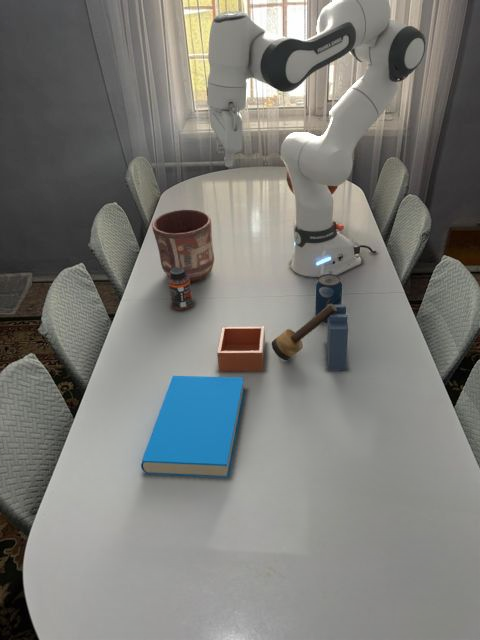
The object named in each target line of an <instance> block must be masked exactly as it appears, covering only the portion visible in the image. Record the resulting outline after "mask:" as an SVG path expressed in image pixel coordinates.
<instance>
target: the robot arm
mask: <svg viewBox="0 0 480 640" xmlns="http://www.w3.org/2000/svg"><path fill="white" fill-rule="evenodd" d="M391 13H392V12H391V5H390V1H389V0H333V1H331V2H329V3H328V4H327V5H325V6H324V7H323V8H322V9H321V11H320V13H319V16H318V19H317V25H316V32H317V34H315V35H313V36H312V37H309V38H307V39H305V40H301V39H297V38H293V37H287V36H283V35H279V34H277V33H276V34H275V33H273V32H270V31H267V30H266V29H264V28H262V27H261V26H259V25H258V24H257V23H255V22H254V21H253V20H252V19H251V18H250V17H249V15H248V14H247V13H246V12H243V11H238V10H234V11H230V10H228V11H223V12H220V13H218V14H217V15H215V16H214V17H213V19H212V21H211V25H210V30H209V38H208V52H207V53H208V55H207V56H208V57H207V59H208V64H209V74H208V78H207V87H206V97H207V101H206V103H207V105H208V109H209V110H208V111H209V123H210V127H211V129H212V131H213V132H214V134H215V142H216V152H217V154H219V155H220V154H222V155H224V154H225V155H224V158H223V159H224V160H223V165H224V166H225V167H226V168H232V167H233V166H234V158H235V156H236V153H241V152H242V149H243V137H244V136H243V135H244V134H243V132H244V131H243V128H244V125H243V117H242V115H241V110H244V109H246V107H247V99H248V97H247V96H248V82H249V79H251V78H252V79H255V80H257V81H259V82H262V83H264V84H266V85H268V86H270V87H271V88H274V89H275V90H277V91H279V92H282V93H289V92H292V91H294V90H295V89H297V88H298V87H300V85H302V84H303V83H304V82H305V81H306V80H307V79H308V78H309V77H310V76H311V75H313V74H314V73H315V72H316V71H319V70H321V69H322V68H324V67H326V66H328V65H330V64H332V63H333V62H335V61H337V60H339V59H341V58H342V57H344V56H346V55H348V53H349V54H350V55H351V56H352V58H354V59H355V60H356V61H358V62H360V63H363V64H365V65H366V69H365V71H364V73H363V75H362V76H361V77H360V78H359V79H358V80H357V81H355V83H354V84H353V85H352V86H351V87H350V88H349V89H348V90H347V91H346V92H345V93H344V95H343V96H342V97H341V98H340V99H339V100H338V101H337V103H336V104H335V105H334V106H333V107H332V108H331V109H330V110H329V114H328V123H329V124H328V127H327V129H326V131H325V132H324V133H323V134H322V135H321V136H318V135H315V134H312V133H309V132H305V131H304V132H302V131H300V132H292V133H290V134H288V135H287V136H286V137H285V138H284V140H283V141H282V143H281V147H280V158H281V160H282V162H283V163H284V165H285V167H286V169H287V170H288V172H289V176H290V180H291V183H292V187H293V191H294V194H293V197H294V203H295V204H294V207H295V223H294V229H293V231H294V232H293V233H294V234H293V235H294V236H293V238H294V243H293V246H294V250H293V255H292V260H291V263H290V268H291V270H292V271H293V272H294V273H296V274H298V275H301V276H304V277H309V278H310V277H312V278H314V277H315V278H319V277H320V276H322V275H324V274H334V275H337V276H339V275H340V274H342V273H345V272H347V271H349V270H351V269H353V268H355V267H357V266H359V265H361V264H362V258H361V256H360V254H361V248H364V249H368V251H370V253H372V254H376V253H377V250H373V249H372V247H370V246H369V245H363V244H359V243H358V242H357V241H356V240H355V239H354V238H352V239H348V237H346V236H344V235H343V234H341V233H340V232H343V231H344V229H345V226H344V225H343V224H341V223H340V222H338V223H337V221H335V220H334V197H333V194H331V192H330V191H329V189H328V186H338V187H339V186H341V185H343V184H344V183H345V182H346V181H347V180H348V179H349V177H350V176H351V173H352V171H353V166H354V161H353V154H354V151H355V148H356V146H357V145H358V143H359V141H360V140H361V139H362V137H363V136H364V135H365V134H366V132H367V131H368V130H369V129H370V128H371V127H372V126H373V125H374V124H375V123H376V122H377V120H378V119H379V118H380V117H381V116H382V114H383V113H384V111H386V109H387V108H388V106H389V105H390V103H391V101H392V100H393V98H394V97H395V95H396V94H397V91H398V88H399V85H398V83H399V82H402V81H404V80H405V79H406V78H408V77H409V75H411V74H412V73H413V72H414V71H415V70H416V69H417V68H418V67H419V65H420V64H421V62H422V60H423V58H424V56H425V52H426V37H425V35H424V33H422V31H421V30H419V29H418V28H416V27H415V26H412V25H407V24H406V23H403V22H400V21H398V20H393V19H391ZM287 170H286V171H287ZM327 185H328V186H327Z"/></svg>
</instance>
